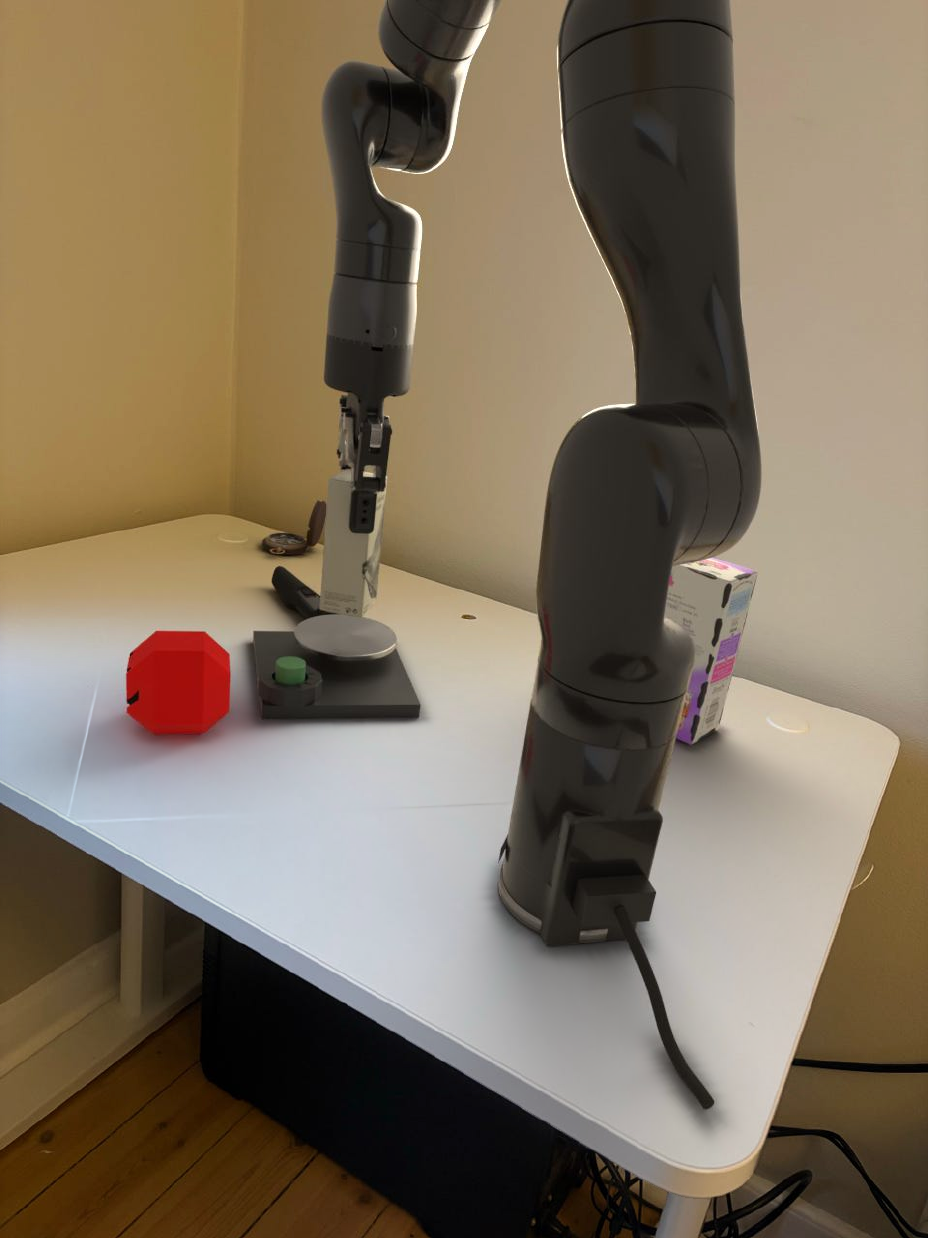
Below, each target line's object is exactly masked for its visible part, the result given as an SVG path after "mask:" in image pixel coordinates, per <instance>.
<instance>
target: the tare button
mask: <svg viewBox="0 0 928 1238" xmlns="http://www.w3.org/2000/svg"><path fill="white" fill-rule="evenodd" d="M305 671H306V662H305V661H304V660H303V659H301V658H298V657H292V656H287V657H282V658H279V659H278V660H277V661H276V671H275V680H276V682H278V683H282V684H286V685H297V684H301V683H304V681H305Z"/></svg>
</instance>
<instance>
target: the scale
mask: <svg viewBox="0 0 928 1238" xmlns="http://www.w3.org/2000/svg"><path fill="white" fill-rule="evenodd" d="M252 633H253V634H252V646H253V655H254V663H255V664H254V665H255V675H256V683H257V688H256V689H257V696H258V701H259V707H260V708H259V710H260V718H261V719H260V720H264V721H266V720H329V719H332V720H334V719H339V720H340V719H341V720H342V719H394V718H395V719H401V718H403V719H405V718H410V719H411V718H420V713H421V701H420V700H419V697H418V695H417V693H416V691H415V689H414V686H413V684H412V682H411V679H410V677H409V675H408V673H407V670H406V668H405V666H404V663H403V660H402V659H401V657H400V654H399V651H398V649H397V647H396V648H395V649H394V650H393V651H392V652H391V653H390V654H388V655H386V656H384V657H381V658H378V659H374V660H368V661H354V662H352V661H337V660H331V659H326V658H322V657H319V656H316V655H313V654H311V653H308V652H306V651H305V650H303V649H302V648H300V647H299V646H298V645H297V644H296V642H295V640H294V630H293V631H290V630H289V631H288V630H253V632H252ZM287 656H292V657H298V658H301V659H303V660H304V661H305V662H306V671H305V681H304V683H301V684H297V685H286V684H282V683H278V682H276V680H275V671H276V661H277V660H278V659H279V658H282V657H287Z"/></svg>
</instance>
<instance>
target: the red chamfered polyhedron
mask: <svg viewBox="0 0 928 1238" xmlns="http://www.w3.org/2000/svg"><path fill="white" fill-rule="evenodd" d="M230 655H231V654H230V653H229V652H228V651H227V650H226V649H225V648H223V646H221V645H220V644H219V643H218V642H217V640H215V639H213V637H212V636H211V635H209V634H208V633H207V632H206V631H204V630H155V631H154V632H153V633H152V634H151V635H149V636H148V637H146V639H145V640H143V641H142V642H141V643H140V644H139V645H137V647H135V648H134V649H133V650H132V651H131V652H130V653H129V657H128V660H127V667H126V672H125V694H126V699H125V700H126V705H128V706H126V714H127V715H128V716H130V717H131V718H132V719H133V720H135V722H137V723H138V724H139V725H141V726H142V727H143V728H145V729H146V730H147V731H148V732H149V733H150V734H152V735H154V736H155V735H156V736H159V735H161V736H162V735H163V736H164V735H204V734H205V733H206V732H207V731H208V730H210V729H211V728H212V727H214V726H215V725H216V724H217V723H218V722H219V721H221V720H222V719H223V718H225V717H226V715H228V714H229V713H230V709H231V707H230V706H231V677H232V676H231V656H230Z"/></svg>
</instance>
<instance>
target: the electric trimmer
mask: <svg viewBox="0 0 928 1238" xmlns="http://www.w3.org/2000/svg"><path fill="white" fill-rule="evenodd" d="M271 585H272V586H273V588H274V590H275V592H276V593H277V594H278V596H279V597H280V599H281V600H282V602H283V603H284V605H285V606H286V607H287V608H290V609H293V610H297V611H298V612H299V613H300V614H301V616H303V617H304V618H305V620H306V619H309V618H312V617H316V616H321V615H332V614H336V613H331V612H327V611H323V610H320V609H319V606H320V594H318V593H317V592H316V591H314V589H312V588H311V587H309V586H308V585H307V584H305V583H304V582H303V581H301V580H300V579H299V578H298V577H297V576H295V574H293V573H292V572H291V571H289V570H288V569H287V568H286V567H285V566H282V565H278V566H276V567H275V568H274V570H273V573H272V576H271Z"/></svg>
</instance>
